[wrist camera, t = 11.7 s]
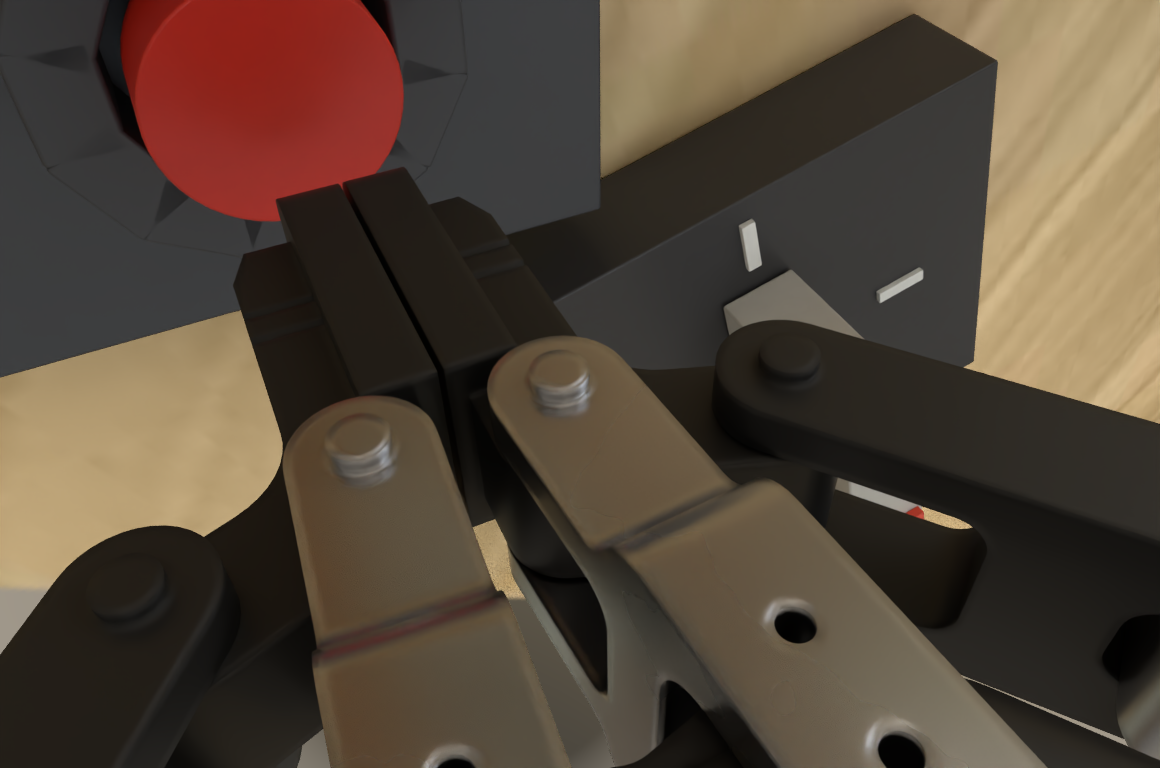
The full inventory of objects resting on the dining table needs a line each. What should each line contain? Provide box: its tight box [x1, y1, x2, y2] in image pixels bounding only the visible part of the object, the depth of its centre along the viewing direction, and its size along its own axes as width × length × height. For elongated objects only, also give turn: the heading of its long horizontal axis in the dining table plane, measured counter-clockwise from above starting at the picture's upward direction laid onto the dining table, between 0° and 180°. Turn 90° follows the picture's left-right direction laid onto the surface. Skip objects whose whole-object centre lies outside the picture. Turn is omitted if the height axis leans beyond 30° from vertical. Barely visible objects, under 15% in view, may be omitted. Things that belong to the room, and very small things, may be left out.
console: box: [506, 14, 998, 370], centre depth 27 cm, size 14×11×3 cm
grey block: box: [724, 270, 924, 519], centre depth 24 cm, size 6×2×5 cm, turn 16°
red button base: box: [0, 0, 601, 377], centre depth 16 cm, size 13×11×4 cm
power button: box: [120, 0, 404, 221], centre depth 14 cm, size 4×4×2 cm
